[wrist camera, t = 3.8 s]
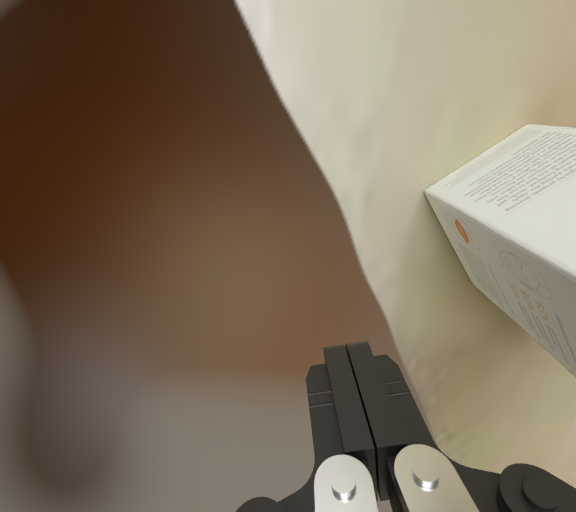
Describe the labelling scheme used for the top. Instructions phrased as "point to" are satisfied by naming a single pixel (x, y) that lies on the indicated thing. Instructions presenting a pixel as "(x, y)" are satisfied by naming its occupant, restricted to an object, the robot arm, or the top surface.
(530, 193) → the small box
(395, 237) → the top surface
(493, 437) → the top surface
